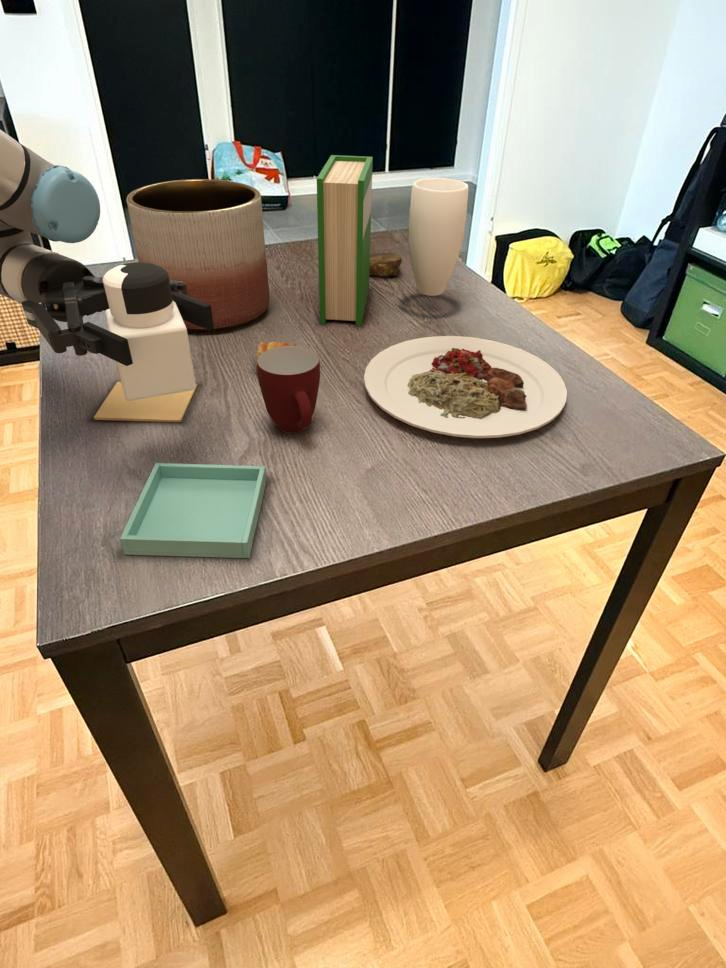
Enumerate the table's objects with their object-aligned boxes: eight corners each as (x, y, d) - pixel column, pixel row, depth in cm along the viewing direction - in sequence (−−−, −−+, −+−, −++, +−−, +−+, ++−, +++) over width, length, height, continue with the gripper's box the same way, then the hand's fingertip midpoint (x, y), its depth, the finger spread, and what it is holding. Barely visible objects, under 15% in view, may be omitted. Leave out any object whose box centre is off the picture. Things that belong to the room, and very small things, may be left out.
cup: (395, 312, 116) (403, 188, 103) (410, 292, 124) (418, 174, 111) (450, 320, 114) (464, 194, 101) (461, 299, 122) (476, 180, 108)
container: (185, 360, 76) (167, 253, 68) (197, 390, 71) (178, 277, 62) (119, 370, 74) (92, 260, 66) (126, 402, 68) (97, 287, 60)
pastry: (317, 357, 101) (317, 336, 99) (315, 378, 96) (314, 356, 94) (260, 356, 101) (258, 335, 99) (254, 377, 96) (252, 354, 94)
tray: (124, 554, 66) (119, 538, 64) (159, 477, 76) (155, 462, 74) (249, 558, 66) (247, 542, 64) (266, 481, 76) (265, 465, 74)
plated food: (416, 467, 79) (418, 445, 77) (335, 362, 100) (335, 343, 98) (607, 422, 88) (614, 402, 86) (495, 335, 110) (498, 317, 107)
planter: (277, 289, 124) (270, 180, 111) (261, 338, 107) (250, 215, 94) (166, 286, 124) (147, 176, 111) (132, 334, 107) (105, 211, 94)
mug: (341, 440, 83) (341, 373, 77) (287, 458, 80) (282, 390, 73) (304, 404, 90) (301, 340, 84) (252, 419, 86) (246, 354, 80)
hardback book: (360, 326, 111) (363, 180, 96) (319, 323, 112) (316, 178, 97) (368, 289, 125) (372, 156, 110) (332, 287, 125) (331, 155, 110)
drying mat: (94, 419, 86) (93, 417, 85) (117, 383, 93) (117, 381, 93) (181, 422, 86) (180, 419, 85) (197, 386, 93) (197, 383, 93)
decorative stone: (349, 275, 131) (349, 258, 129) (357, 260, 138) (357, 244, 136) (398, 279, 130) (399, 262, 128) (404, 264, 137) (405, 247, 135)
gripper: (135, 287, 86) (250, 331, 76) (-31, 345, 71) (84, 409, 61) (123, 230, 81) (244, 269, 71) (-58, 280, 66) (63, 338, 56)
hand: (170, 334), depth 66 cm, fingers closed on container, 10 cm apart
